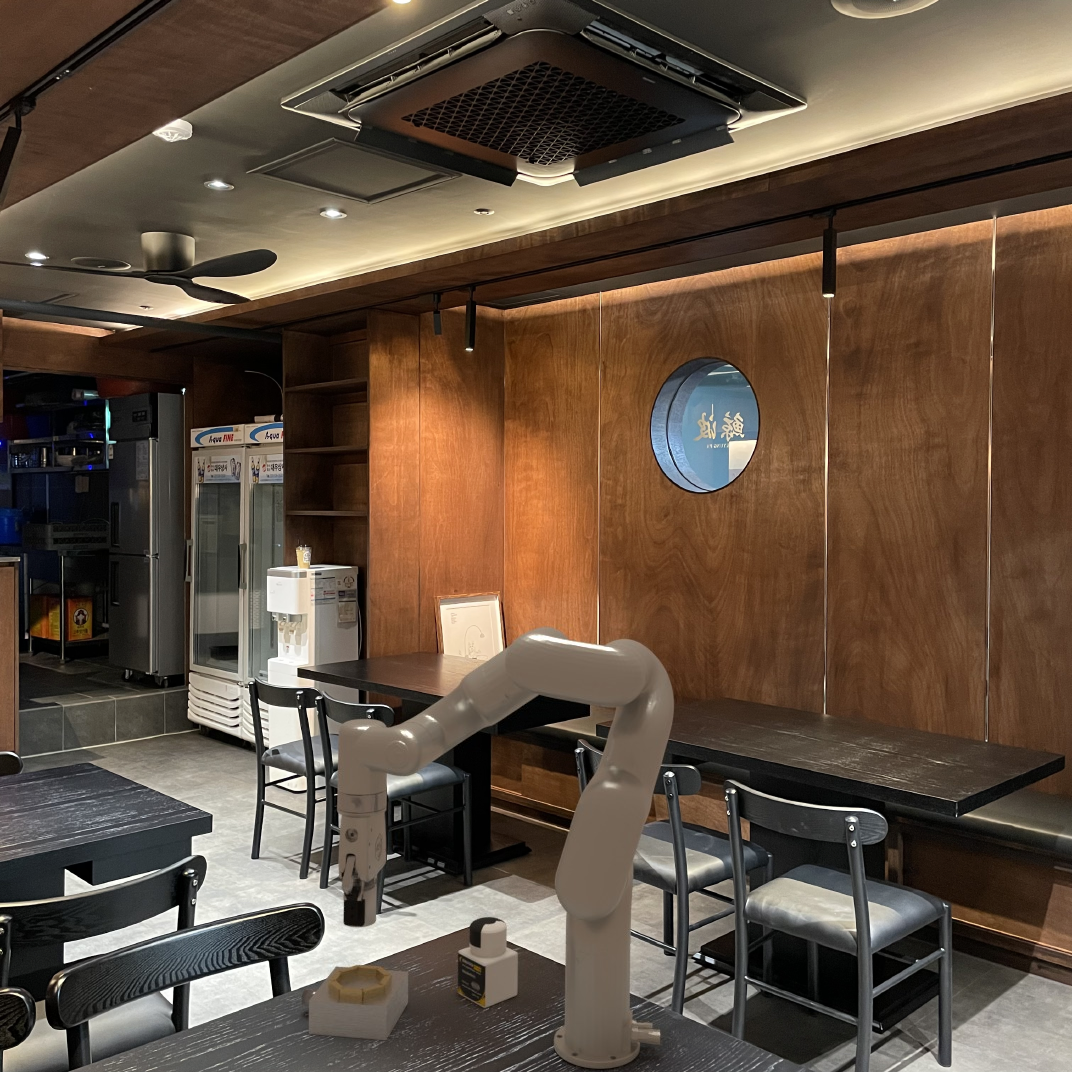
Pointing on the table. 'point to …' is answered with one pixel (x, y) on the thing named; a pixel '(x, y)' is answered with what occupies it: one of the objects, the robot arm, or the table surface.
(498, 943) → the medicine bottle
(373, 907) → the short grey cylinder
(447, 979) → the table surface
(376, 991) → the block
